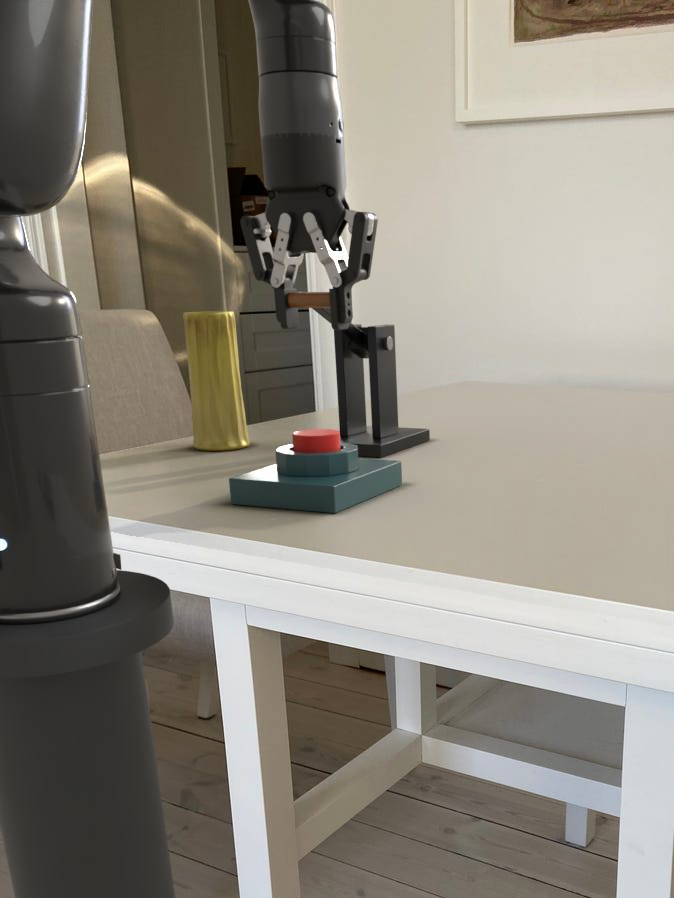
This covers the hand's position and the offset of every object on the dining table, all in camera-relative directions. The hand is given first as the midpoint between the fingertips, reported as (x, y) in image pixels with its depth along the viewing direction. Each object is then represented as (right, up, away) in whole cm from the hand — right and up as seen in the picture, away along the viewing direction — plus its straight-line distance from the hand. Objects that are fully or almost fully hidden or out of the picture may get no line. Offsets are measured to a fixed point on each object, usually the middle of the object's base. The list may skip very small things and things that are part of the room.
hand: (315, 327), depth 97 cm
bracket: (+4, -9, +13) cm, 16 cm away
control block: (+2, -18, -10) cm, 21 cm away
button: (+2, -14, -12) cm, 19 cm away
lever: (+2, +1, +4) cm, 5 cm away
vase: (-13, -9, +14) cm, 21 cm away
